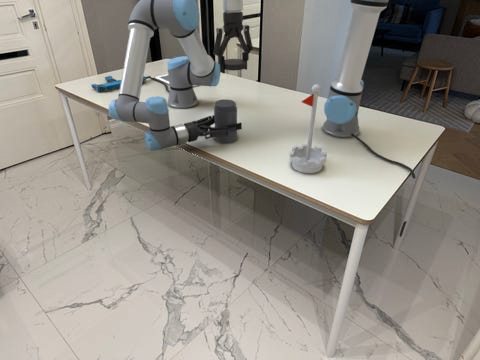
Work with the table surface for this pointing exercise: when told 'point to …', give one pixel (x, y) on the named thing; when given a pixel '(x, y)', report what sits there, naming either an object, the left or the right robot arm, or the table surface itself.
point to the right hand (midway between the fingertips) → (233, 70)
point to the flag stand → (309, 143)
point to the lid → (235, 64)
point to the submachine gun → (111, 84)
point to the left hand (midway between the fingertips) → (235, 121)
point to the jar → (225, 118)
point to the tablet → (166, 79)
